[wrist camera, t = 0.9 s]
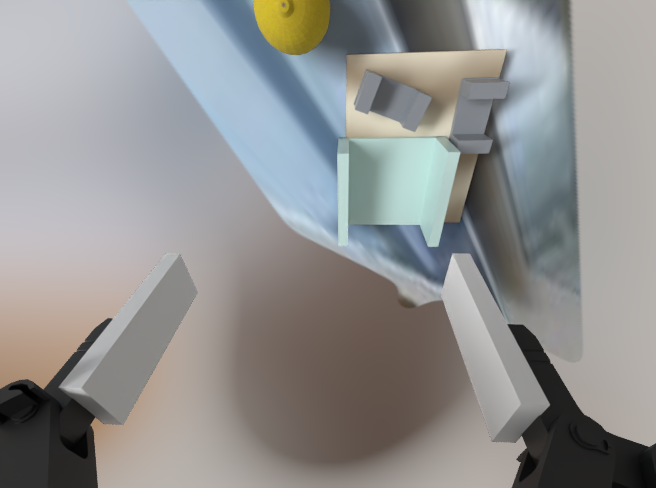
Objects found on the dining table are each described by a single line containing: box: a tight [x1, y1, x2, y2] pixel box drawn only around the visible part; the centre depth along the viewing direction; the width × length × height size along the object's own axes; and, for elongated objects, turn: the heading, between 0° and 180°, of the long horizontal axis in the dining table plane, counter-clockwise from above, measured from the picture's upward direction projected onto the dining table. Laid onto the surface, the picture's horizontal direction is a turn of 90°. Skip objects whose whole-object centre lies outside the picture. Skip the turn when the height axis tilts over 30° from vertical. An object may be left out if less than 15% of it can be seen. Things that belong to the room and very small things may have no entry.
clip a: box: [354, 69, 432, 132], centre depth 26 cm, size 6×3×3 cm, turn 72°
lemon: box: [254, 0, 331, 55], centre depth 21 cm, size 6×6×8 cm
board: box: [346, 49, 507, 222], centre depth 30 cm, size 17×14×1 cm
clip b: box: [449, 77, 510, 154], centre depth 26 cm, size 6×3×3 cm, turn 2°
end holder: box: [337, 136, 460, 247], centre depth 30 cm, size 10×10×5 cm
